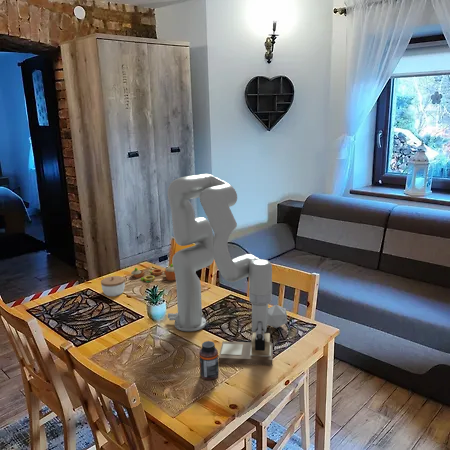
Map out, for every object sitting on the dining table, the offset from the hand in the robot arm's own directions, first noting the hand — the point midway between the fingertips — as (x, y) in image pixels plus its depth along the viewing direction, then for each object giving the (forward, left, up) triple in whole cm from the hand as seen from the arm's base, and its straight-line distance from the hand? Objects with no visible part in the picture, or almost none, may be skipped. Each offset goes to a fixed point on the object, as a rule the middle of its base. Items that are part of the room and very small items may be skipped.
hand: (260, 342), depth 150 cm
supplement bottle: (-16, -13, -5) cm, 21 cm away
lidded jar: (-71, +48, -5) cm, 86 cm away
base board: (-5, 0, -5) cm, 7 cm away
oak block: (0, 0, -3) cm, 3 cm away
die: (+5, +21, -5) cm, 22 cm away
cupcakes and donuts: (-55, +69, -6) cm, 88 cm away
